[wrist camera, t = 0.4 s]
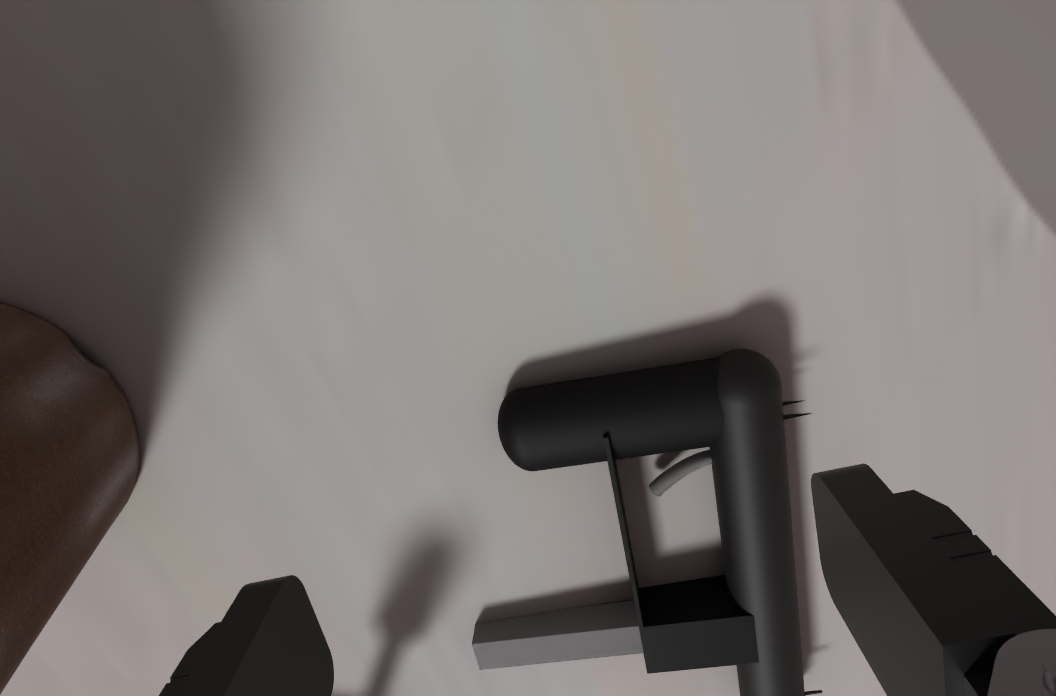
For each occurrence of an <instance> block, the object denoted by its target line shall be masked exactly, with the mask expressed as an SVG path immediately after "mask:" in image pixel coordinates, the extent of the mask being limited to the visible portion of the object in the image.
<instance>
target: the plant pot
mask: <svg viewBox="0 0 1056 696" xmlns="http://www.w3.org/2000/svg"><path fill="white" fill-rule="evenodd" d="M138 467H139V441H138V435H137V430H136V426H135V422H134V419H133V416H132V413H131V410H130V407H129V405H128V402H127V400H126V397H125V395H124V394H123V392H122V391H121V389H120V388H119V386H118V385H117V383H116V382H115V380H114V379H113V377H112V376H111V374H110V373H109V372H108V371H107V370H106V369H105V368H102V367H100V366H97V365H96V364H94V363H92V362H90V361H89V360H87V359H86V358H85V357H84V356H83V355H82V354H81V353H80V352H79V350H78V349H77V348H76V347H75V346H74V345H73V344H72V343H71V341H70V339H69V338H68V336H67V334H66V333H65V332H64V331H62V330H61V329H59V328H57V327H56V326H54V325H53V324H51V323H49V322H47V321H45V320H43V319H41V318H39V317H37V316H35V315H33V314H31V313H28V312H26V311H24V310H21V309H18V308H15V307H12V306H9V305H6V304H2V303H0V694H1V692H2V691H3V689H4V688H5V686H6V685H7V683H8V682H9V680H10V678H11V677H12V675H13V674H14V672H15V671H16V669H17V668H18V666H19V665H20V663H21V661H22V660H23V658H24V657H25V655H26V654H27V652H28V651H29V649H30V647H31V646H32V644H33V643H34V641H35V640H36V638H37V637H38V635H39V634H40V632H41V631H42V629H43V628H44V626H45V625H46V623H47V622H48V620H49V619H50V617H51V616H52V614H53V613H54V611H55V610H56V608H57V607H58V605H59V604H60V602H61V601H62V599H63V598H64V596H65V595H66V593H67V592H68V590H69V589H70V587H71V586H72V584H73V583H74V581H75V580H76V578H77V576H78V575H79V573H80V572H81V570H82V569H83V567H84V566H85V564H86V563H87V561H88V560H89V558H90V557H91V555H92V554H93V552H94V551H95V549H96V548H97V546H98V545H99V543H100V542H101V540H102V538H103V537H104V535H105V534H106V532H107V531H108V529H109V528H110V527H111V525H112V524H113V522H114V521H115V519H116V518H117V517H118V515H119V514H120V512H121V511H122V509H123V508H124V506H125V505H126V503H127V502H128V500H129V498H130V495H131V493H132V491H133V488H134V485H135V482H136V478H137V473H138Z"/></svg>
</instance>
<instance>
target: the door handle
mask: <svg viewBox="0 0 1056 696" xmlns="http://www.w3.org/2000/svg"><path fill="white" fill-rule="evenodd" d="M803 401H805V400H803ZM797 402H801V401H788V402H782V391H781V381H780V377H779V374H778V372H777V370H776V368H775V366H774V365H773V364H772V363H771V362H770V360H768V359H767V358H766V357H765V356H763V355H761V354H760V353H757V352H755V351H752V350H747V349H736V350H731V351H728V352H725V353H723V354H721V355H720V356H718V357H717V358H712V359H706V360H699V361H693V362H686V363H680V364H673V365H667V366H661V367H654V368H648V369H641V370H635V371H629V372H622V373H616V374H609V375H603V376H597V377H590V378H584V379H577V380H571V381H564V382H558V383H552V384H545V385H539V386H532V387H526V388H520V389H516V390H513V391H512V392H510V393H509V394H508V395H507V396H506V397H505V399H504V400H503V402H502V404H501V407H500V410H499V415H498V431H499V437H500V440H501V443H502V446H503V448H504V450H505V452H506V454H507V455H508V457H509V458H510V459H511V460H512V461H513V462H514V463H515V464H516V465H517V466H518V467H520V468H522V469H524V470H527V471H539V470H546V469H553V468H560V467H567V466H575V465H582V464H589V463H596V462H603V461H608V465H609V471H610V476H611V481H612V487H613V492H614V497H615V503H616V508H617V513H618V518H619V524H620V529H621V534H622V540H623V545H624V550H625V556H626V561H627V566H628V571H629V577H630V582H631V587H632V593H633V598H634V601H625V602H616V603H607V604H598V605H590V606H583V607H577V608H570V609H564V610H558V611H551V612H545V613H539V614H532V615H526V616H520V617H513V618H507V619H501V620H494V621H488V622H482V623H476V624H475V630H474V635H473V641H472V646H473V649H474V652H475V655H476V659H477V662H478V665H479V668H480V670H482V669H492V668H501V667H511V666H521V665H531V664H540V663H550V662H560V661H570V660H579V659H589V658H599V657H609V656H618V655H628V654H638V653H644V658H645V663H646V669H647V674H648V673H658V672H668V671H678V670H688V669H698V668H709V667H719V666H729V665H737V672H738V680H739V689H740V696H805V695H810V694H817V693H822V690H818V691H807V692H804V680H803V667H802V654H801V641H800V627H799V614H798V601H797V588H796V575H795V562H794V549H793V535H792V522H791V509H790V496H789V483H788V470H787V456H786V443H785V430H784V420H785V419H790V418H794V417H798V416H803V415H807V414H812V413H806V414H790V415H783V405H788V404H792V403H797ZM703 447H710V450H706V451H703V452H699V453H697V454H694V455H692V456H689V457H687V458H685V459H683V460H682V461H680V462H678V463H676V464H675V465H673V466H672V467H670V468H669V469H667V470H666V471H665V472H663V473H662V474H661V475H659V476H658V477H657V478H656V479H655V480H654V481H653V482H651V483H650V484H649V488H650V490H651V491H652V492H653V493H654V494H655V495H657V496H661V495H662V494H663V493H664V492H665V491H666V490H667V489H669V488H670V487H671V486H672V485H674V484H675V483H676V482H677V481H679V480H680V479H682V478H683V477H685V476H686V475H688V474H690V473H691V472H693V471H695V470H697V469H699V468H701V467H703V466H706V465H709V464H712V470H713V478H714V486H715V494H716V502H717V510H718V518H719V527H720V535H721V543H722V551H723V559H724V567H725V575H720V576H713V577H707V578H701V579H695V580H688V581H682V582H676V583H669V584H663V585H657V586H651V587H644V588H639V586H638V580H637V575H636V570H635V564H634V559H633V553H632V548H631V542H630V537H629V531H628V526H627V521H626V515H625V510H624V504H623V499H622V493H621V488H620V482H619V477H618V472H617V466H616V461H615V460H618V459H625V458H632V457H639V456H646V455H653V454H660V453H668V452H675V451H682V450H689V449H696V448H703Z"/></svg>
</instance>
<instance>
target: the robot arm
mask: <svg viewBox="0 0 1056 696" xmlns="http://www.w3.org/2000/svg"><path fill="white" fill-rule="evenodd" d="M811 489H812V497H813V505H814V513H815V521H816V529H817V536H818V544H819V552H820V560H821V566H822V570H823V574H824V578H825V581H826V584H827V587H828V590H829V593H830V595H831V597H832V600H833V602H834V604H835V606H836V608H837V609H838V611H839V613H840V615H841V616H842V618H843V620H844V621H845V623H846V625H847V627H848V628H849V630H850V632H851V634H852V635H853V637H854V639H855V641H856V642H857V644H858V646H859V648H860V649H861V651H862V653H863V655H864V656H865V658H866V660H867V661H868V663H869V665H870V667H871V668H872V670H873V672H874V674H875V675H876V677H877V679H878V681H879V682H880V684H881V686H882V688H883V689H884V691H885V693H886V695H887V696H1056V616H1055V615H1054V614H1053V613H1052V612H1051V611H1050V610H1049V609H1048V608H1047V607H1046V606H1045V605H1044V604H1043V602H1042V601H1041V600H1040V599H1039V598H1038V597H1037V596H1036V595H1035V594H1034V593H1033V592H1032V591H1031V590H1030V589H1029V588H1028V587H1027V586H1026V585H1025V584H1024V583H1023V582H1022V581H1021V580H1020V579H1019V578H1018V577H1017V576H1016V575H1015V574H1014V573H1013V572H1012V571H1011V570H1010V569H1009V568H1008V567H1007V566H1006V565H1005V564H1004V563H1003V562H1002V561H1001V560H1000V559H999V558H998V557H997V556H996V555H994V556H993V555H992V553H991V550H990V549H989V548H988V547H987V546H986V545H985V544H984V543H983V542H982V540H981V539H980V538H979V537H978V536H977V535H973V534H972V531H971V529H970V528H969V527H968V526H967V525H966V524H965V523H964V522H963V521H962V520H961V519H960V518H959V517H958V516H957V515H956V514H955V513H954V512H953V511H952V510H951V509H950V508H949V507H948V506H946V505H944V504H942V503H940V502H938V501H935V500H933V499H931V498H929V497H927V496H925V495H923V494H921V493H919V492H917V491H915V490H911V491H905V492H900V493H895V494H893V493H892V492H891V490H890V489H889V488H888V487H887V486H886V485H885V484H884V483H883V481H882V480H881V479H880V478H879V477H878V476H877V475H876V473H875V472H874V471H873V470H872V469H871V468H870V467H869V466H868V465H866V464H859V465H854V466H849V467H844V468H839V469H834V470H829V471H824V472H819V473H814V474H813V475H812V478H811ZM170 680H171V681H170V683H167V684H166V685H165V687H164V688H163V690H162V691H161V693H160V695H159V696H331V694H332V689H333V682H334V668H333V660H332V656H331V652H330V649H329V647H328V644H327V642H326V639H325V637H324V635H323V632H322V630H321V627H320V625H319V622H318V620H317V617H316V615H315V612H314V610H313V608H312V605H311V603H310V600H309V598H308V595H307V593H306V590H305V588H304V586H303V584H302V582H301V581H300V580H299V579H298V578H297V577H296V576H293V575H291V576H285V577H280V578H275V579H270V580H265V581H260V582H255V583H250V584H247V585H245V586H244V587H242V589H241V590H240V592H239V593H238V595H237V597H236V598H235V600H234V602H233V603H232V605H231V606H230V608H229V610H228V611H227V613H226V615H225V616H224V618H223V620H222V621H221V622H219V623H215V624H214V625H213V626H212V627H211V628H210V629H209V630H208V631H207V632H206V633H205V634H204V635H203V636H202V637H201V638H200V639H199V640H198V641H196V642H195V643H194V644H193V645H192V646H191V647H190V648H189V649H188V650H187V652H186V653H185V655H184V657H183V658H182V660H181V661H180V663H179V665H178V666H177V668H176V669H175V671H174V672H173V674H172V676H171V677H170Z"/></svg>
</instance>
